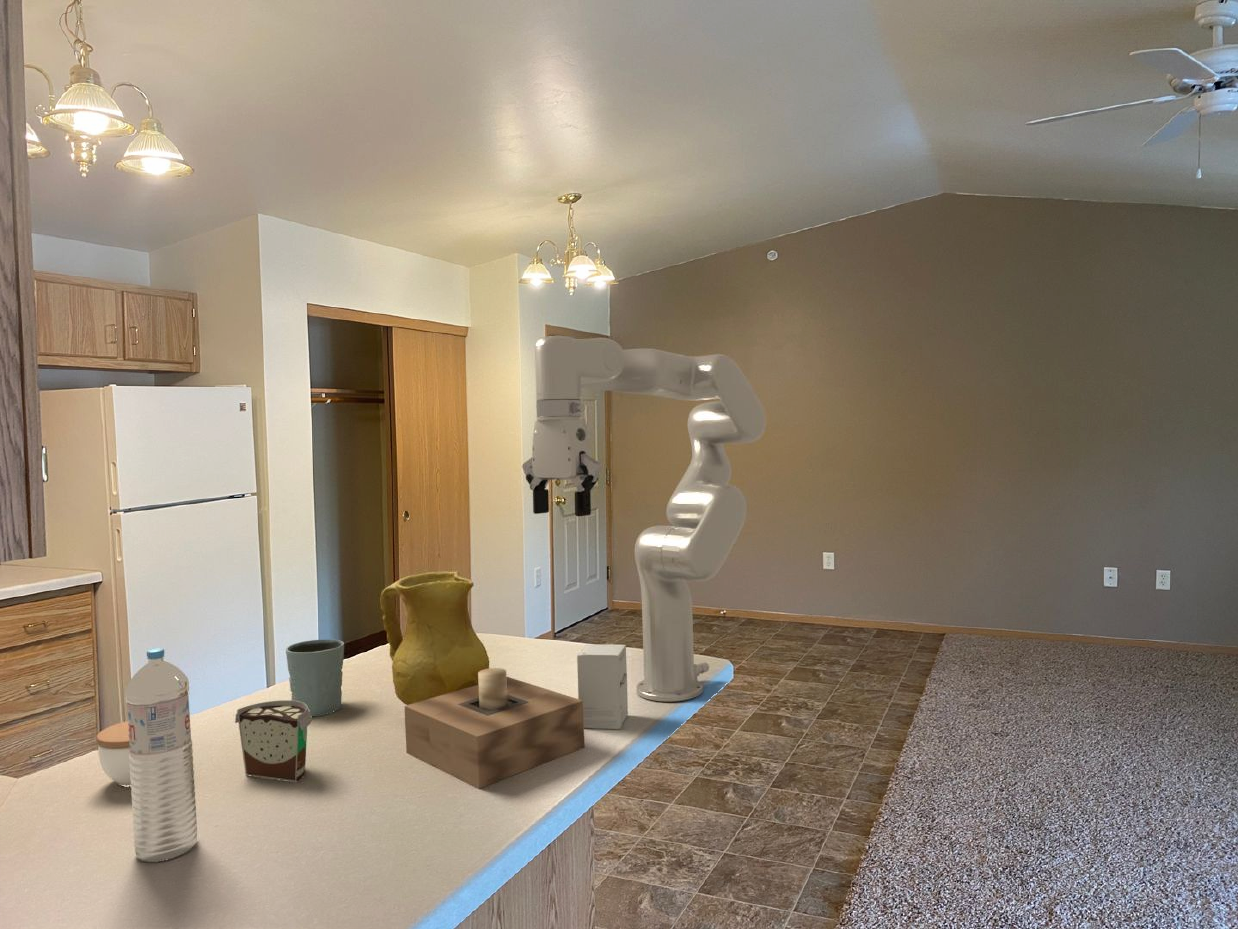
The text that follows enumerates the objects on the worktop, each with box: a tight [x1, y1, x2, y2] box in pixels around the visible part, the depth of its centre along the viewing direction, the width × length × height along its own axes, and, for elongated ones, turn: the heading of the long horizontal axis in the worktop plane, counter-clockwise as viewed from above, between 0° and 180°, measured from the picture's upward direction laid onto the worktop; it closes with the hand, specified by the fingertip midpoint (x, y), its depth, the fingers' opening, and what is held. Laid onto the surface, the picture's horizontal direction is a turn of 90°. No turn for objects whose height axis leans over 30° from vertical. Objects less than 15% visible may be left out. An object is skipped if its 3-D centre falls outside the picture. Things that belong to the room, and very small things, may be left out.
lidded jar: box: [96, 720, 131, 786], centre depth 123 cm, size 11×11×9 cm
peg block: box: [404, 676, 585, 790], centre depth 130 cm, size 20×20×8 cm
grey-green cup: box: [285, 638, 345, 717], centre depth 153 cm, size 10×10×12 cm
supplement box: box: [576, 643, 629, 730], centre depth 141 cm, size 7×7×13 cm
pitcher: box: [379, 571, 490, 706], centre depth 148 cm, size 17×19×25 cm
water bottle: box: [124, 647, 198, 863], centre depth 101 cm, size 7×7×25 cm
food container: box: [234, 699, 313, 783], centre depth 125 cm, size 12×6×10 cm, turn 71°
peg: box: [478, 667, 508, 711], centre depth 130 cm, size 4×4×7 cm
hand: (561, 514), depth 137 cm, fingers open, 9 cm apart
